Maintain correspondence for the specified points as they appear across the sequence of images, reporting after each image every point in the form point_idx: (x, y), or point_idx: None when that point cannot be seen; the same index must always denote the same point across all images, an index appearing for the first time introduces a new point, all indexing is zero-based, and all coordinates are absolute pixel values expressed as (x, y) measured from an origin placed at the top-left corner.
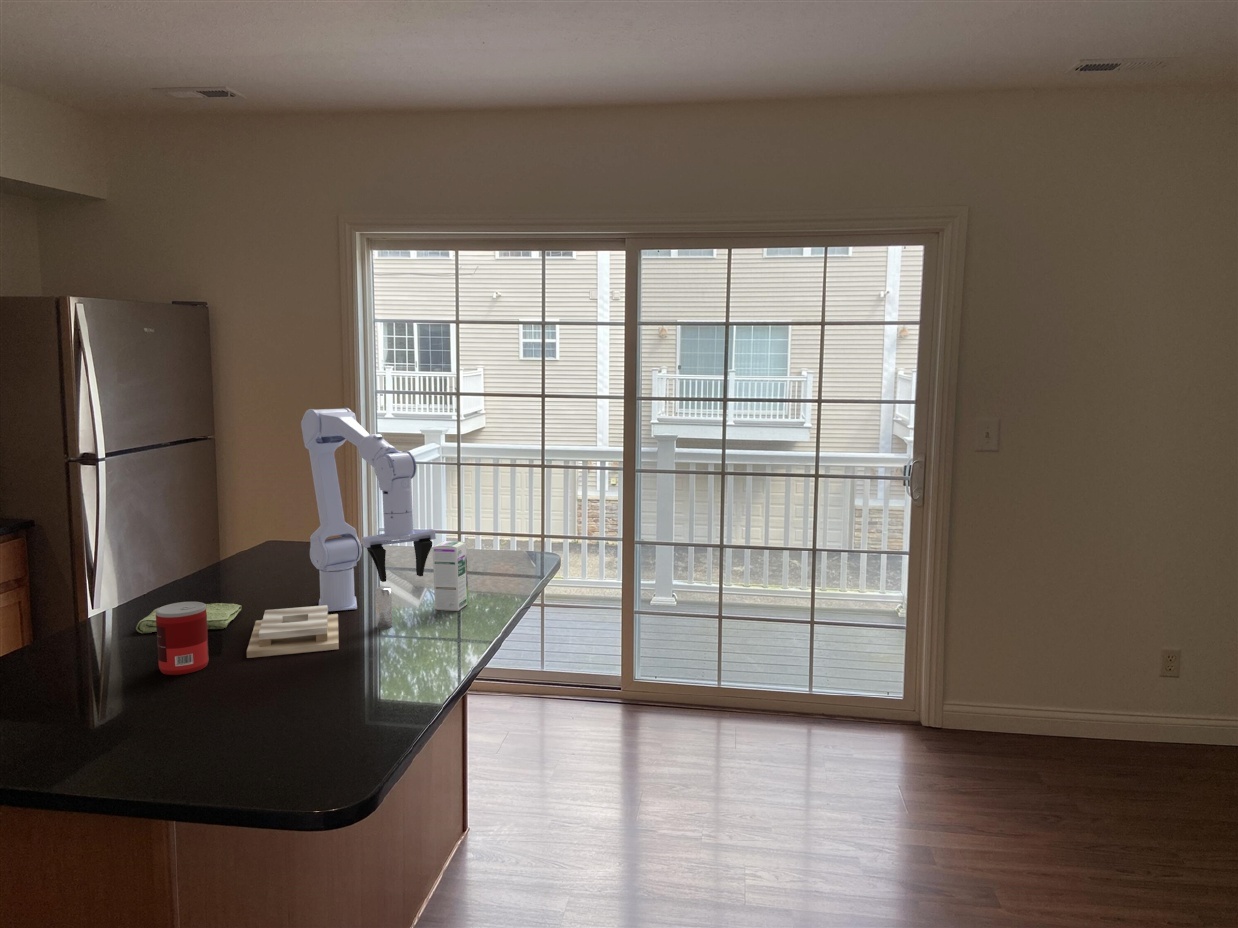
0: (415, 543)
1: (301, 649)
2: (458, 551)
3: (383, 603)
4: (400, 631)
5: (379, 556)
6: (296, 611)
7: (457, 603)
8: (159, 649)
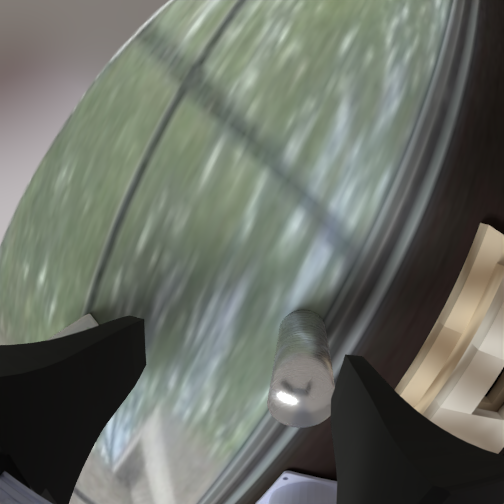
0: (51, 490)
1: None
2: None
3: (317, 349)
4: (288, 256)
5: (453, 450)
6: (468, 441)
7: (79, 321)
8: None
